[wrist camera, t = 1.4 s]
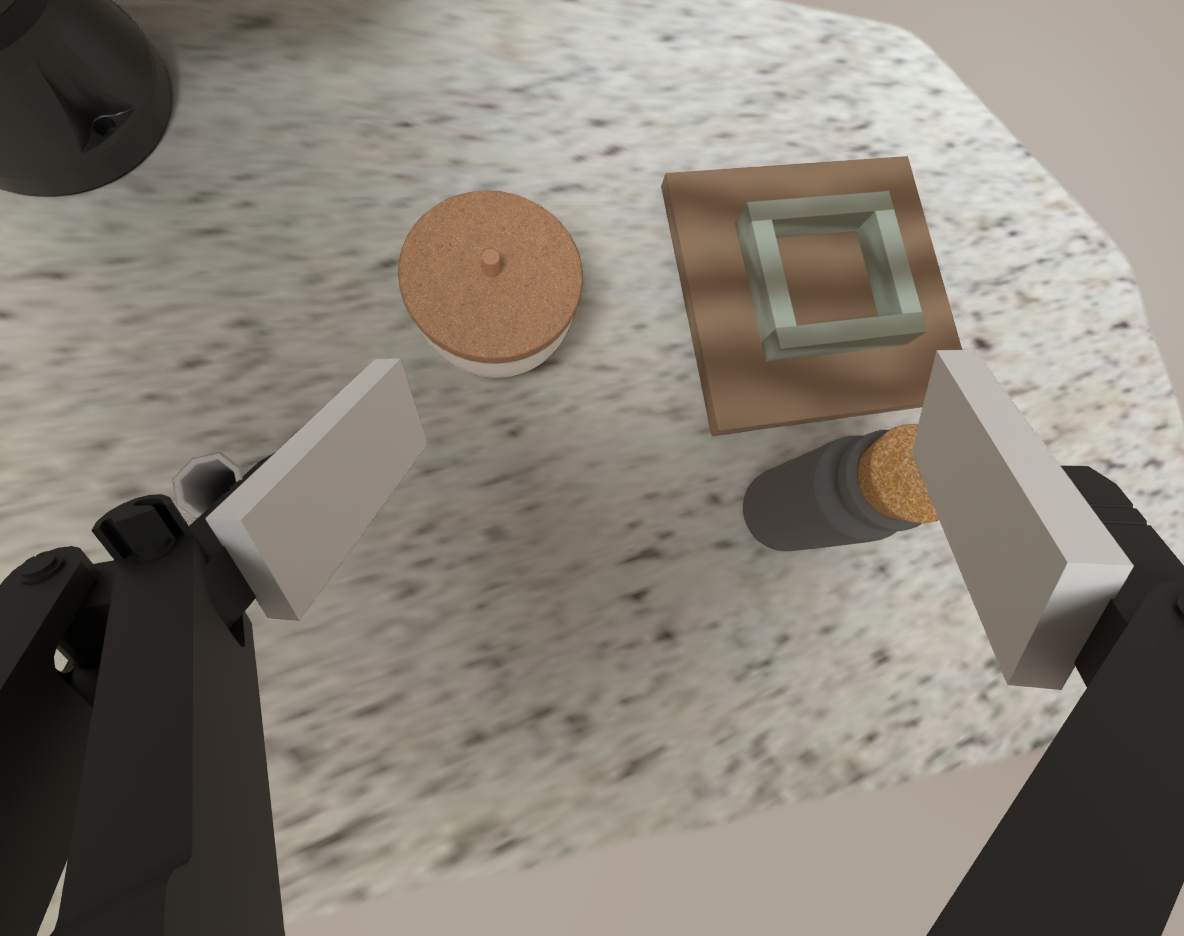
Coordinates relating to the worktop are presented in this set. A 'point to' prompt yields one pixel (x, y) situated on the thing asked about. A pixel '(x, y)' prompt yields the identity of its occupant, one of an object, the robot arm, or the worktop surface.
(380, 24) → the worktop surface
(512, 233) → the lidded jar
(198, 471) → the flask
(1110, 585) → the robot arm
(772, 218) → the socket board
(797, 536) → the bottle
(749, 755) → the worktop surface
